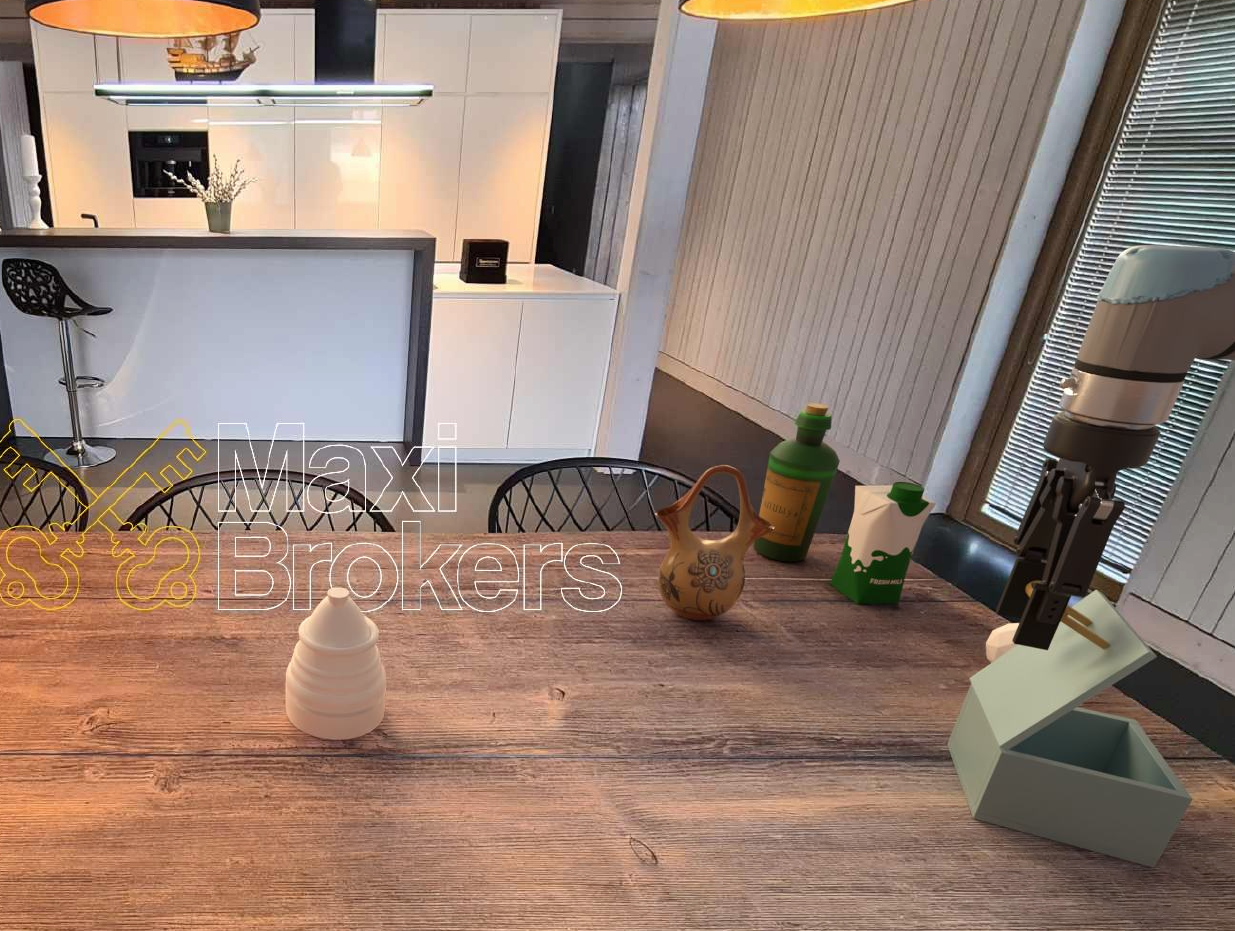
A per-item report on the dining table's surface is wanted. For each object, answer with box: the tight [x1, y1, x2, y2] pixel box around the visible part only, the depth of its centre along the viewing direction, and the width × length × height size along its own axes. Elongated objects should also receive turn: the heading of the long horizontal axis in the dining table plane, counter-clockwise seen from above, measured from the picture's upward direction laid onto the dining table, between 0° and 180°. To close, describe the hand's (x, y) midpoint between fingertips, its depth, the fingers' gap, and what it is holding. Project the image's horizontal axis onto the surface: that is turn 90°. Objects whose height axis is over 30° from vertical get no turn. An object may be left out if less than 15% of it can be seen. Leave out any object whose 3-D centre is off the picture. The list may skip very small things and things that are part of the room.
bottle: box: [753, 402, 841, 563], centre depth 143 cm, size 11×11×28 cm
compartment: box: [946, 683, 1193, 869], centre depth 88 cm, size 15×14×9 cm
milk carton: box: [829, 481, 937, 605], centre depth 130 cm, size 9×9×20 cm
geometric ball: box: [985, 622, 1020, 664], centre depth 111 cm, size 8×8×8 cm
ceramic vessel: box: [654, 464, 774, 621], centre depth 122 cm, size 16×9×25 cm, turn 73°
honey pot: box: [285, 586, 388, 741], centre depth 101 cm, size 13×13×18 cm
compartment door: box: [969, 580, 1158, 751], centre depth 85 cm, size 16×14×7 cm
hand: (1020, 629), depth 85 cm, fingers closed on compartment door, 6 cm apart
